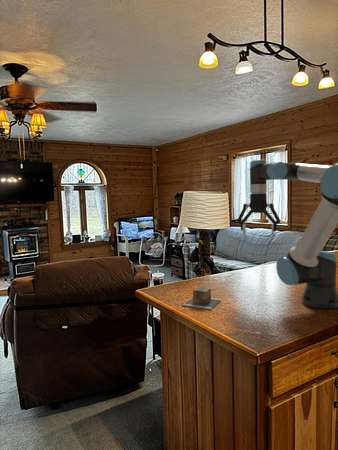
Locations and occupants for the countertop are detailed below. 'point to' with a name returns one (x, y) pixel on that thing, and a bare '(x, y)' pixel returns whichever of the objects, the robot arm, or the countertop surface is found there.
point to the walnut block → (201, 295)
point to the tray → (206, 307)
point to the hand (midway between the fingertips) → (258, 237)
